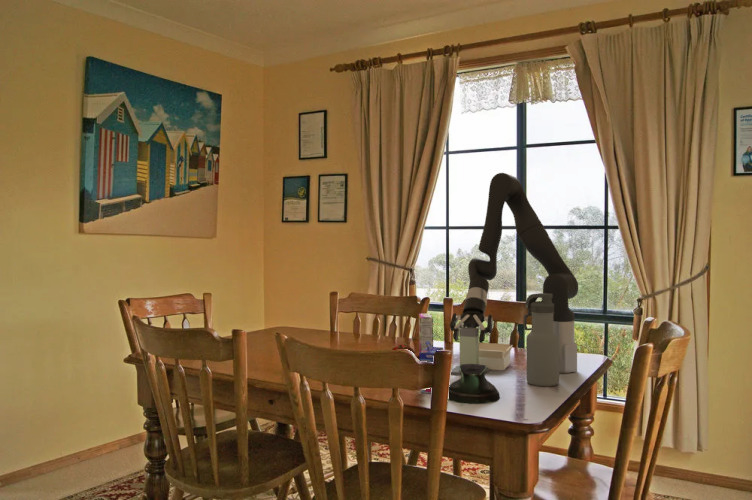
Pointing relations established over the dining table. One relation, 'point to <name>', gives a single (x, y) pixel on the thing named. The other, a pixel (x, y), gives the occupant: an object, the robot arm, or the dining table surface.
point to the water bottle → (541, 342)
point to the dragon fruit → (403, 347)
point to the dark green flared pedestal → (473, 386)
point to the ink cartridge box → (428, 357)
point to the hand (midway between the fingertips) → (468, 340)
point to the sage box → (469, 345)
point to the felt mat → (457, 372)
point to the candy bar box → (425, 330)
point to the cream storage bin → (494, 355)
